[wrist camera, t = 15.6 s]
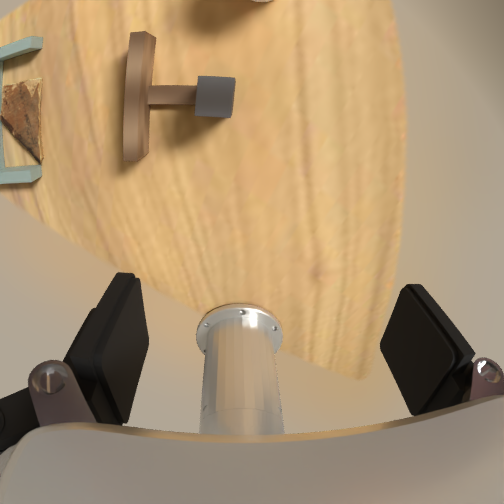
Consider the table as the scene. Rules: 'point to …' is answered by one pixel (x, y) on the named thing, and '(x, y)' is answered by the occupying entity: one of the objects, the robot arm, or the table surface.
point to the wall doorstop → (163, 95)
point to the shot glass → (261, 0)
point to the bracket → (3, 53)
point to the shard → (24, 114)
